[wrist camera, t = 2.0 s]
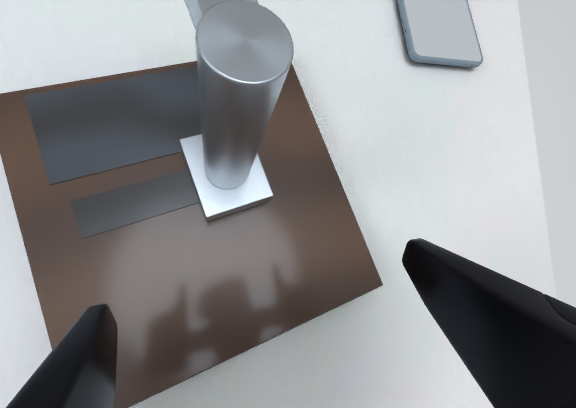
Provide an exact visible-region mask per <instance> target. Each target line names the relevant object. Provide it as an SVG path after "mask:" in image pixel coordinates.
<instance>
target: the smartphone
mask: <svg viewBox="0 0 576 408" xmlns="http://www.w3.org/2000/svg"><path fill="white" fill-rule="evenodd" d="M397 2H398V7H399V12H400V16H401V21H402V26H403V31H404V35H405V40H406V45H407V50H408V54H409V57H410V58H411V59H412V60H413V61H415V62H420V63H431V64H442V65H452V66H463V67H473V68H475V67H478V66H479V65H480V64H481V63H482V61H483V57H482V53H481V49H480V45H479V42H478V38H477V34H476V31H475V27H474V23H473V20H472V16H471V12H470V9H469V5H468V1H467V0H397Z"/></svg>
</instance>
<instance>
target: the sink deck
mask: <svg viewBox="0 0 576 408" xmlns="http://www.w3.org/2000/svg"><path fill="white" fill-rule="evenodd" d="M200 134H202V128H201V113H200V98H199V83H198V68H197V61H194V62H188V63H182V64H176V65H170V66H164V67H158V68H152V69H146V70H140V71H134V72H128V73H122V74H116V75H110V76H104V77H98V78H92V79H86V80H80V81H74V82H68V83H62V84H56V85H50V86H44V87H38V88H32V89H26V90H20V91H14V92H8V93H2V94H0V154H1V158H2V162H3V166H4V169H5V173H6V177H7V181H8V184H9V188H10V192H11V196H12V200H13V203H14V207H15V211H16V215H17V218H18V222H19V226H20V230H21V234H22V237H23V241H24V245H25V249H26V252H27V256H28V260H29V264H30V267H31V271H32V275H33V279H34V283H35V286H36V290H37V294H38V298H39V301H40V305H41V309H42V313H43V316H44V320H45V324H46V328H47V332H48V335H49V339H50V343H51V347H52V350H53V349H54V348H55V347H56V346H57V344H58V343H59V342H60V341H61V339H62V338H63V337H64V336H65V334H66V333H67V332H68V331H69V330H70V328H71V327H72V326H73V325H74V323H75V322H76V321H77V320H78V319H79V317H80V316H81V315H82V314H83V312H84V311H85V310H86V309H87V308H88V307H90V306H95V305H99V304H107V305H108V306H109V307H110V310H111V312H112V314H113V316H114V318H115V321H116V323H117V328H118V338H117V365H116V388H115V398H114V405H113V408H128V407H131V406H133V405H135V404H137V403H139V402H141V401H143V400H145V399H147V398H149V397H151V396H153V395H156V394H158V393H160V392H162V391H164V390H166V389H168V388H170V387H172V386H174V385H176V384H178V383H180V382H183V381H185V380H187V379H189V378H191V377H193V376H195V375H197V374H199V373H201V372H203V371H205V370H208V369H210V368H212V367H214V366H216V365H218V364H220V363H222V362H224V361H226V360H228V359H230V358H233V357H235V356H237V355H239V354H241V353H243V352H245V351H247V350H249V349H251V348H253V347H255V346H257V345H260V344H262V343H264V342H266V341H268V340H270V339H272V338H274V337H276V336H278V335H280V334H282V333H285V332H287V331H289V330H291V329H293V328H295V327H297V326H299V325H301V324H303V323H305V322H307V321H309V320H312V319H314V318H316V317H318V316H320V315H322V314H324V313H326V312H328V311H330V310H332V309H334V308H337V307H339V306H341V305H343V304H345V303H347V302H349V301H351V300H353V299H355V298H357V297H359V296H362V295H364V294H366V293H368V292H370V291H372V290H374V289H376V288H378V287H380V286H382V285H383V284H382V281H381V279H380V277H379V274H378V272H377V269H376V267H375V264H374V262H373V260H372V257H371V255H370V252H369V250H368V247H367V245H366V243H365V240H364V238H363V235H362V233H361V230H360V228H359V226H358V223H357V221H356V218H355V216H354V213H353V211H352V209H351V206H350V204H349V201H348V199H347V196H346V194H345V192H344V189H343V187H342V184H341V182H340V179H339V177H338V175H337V172H336V170H335V167H334V165H333V162H332V160H331V157H330V155H329V153H328V150H327V148H326V145H325V143H324V140H323V138H322V136H321V133H320V131H319V128H318V126H317V123H316V121H315V119H314V116H313V114H312V111H311V109H310V106H309V104H308V102H307V99H306V97H305V94H304V92H303V89H302V87H301V85H300V82H299V80H298V77H297V75H296V72H295V70H294V68H293V65H292V63H291V65H290V68H289V71H288V73H287V76H286V79H285V81H284V84H283V86H282V89H281V92H280V94H279V97H278V99H277V102H276V105H275V107H274V110H273V113H272V115H271V118H270V120H269V123H268V126H267V128H266V131H265V134H264V136H263V139H262V141H261V144H260V147H259V149H258V152H257V153H258V156H259V159H260V161H261V164H262V167H263V169H264V172H265V174H266V177H267V180H268V182H269V185H270V188H271V190H272V193H273V197H272V198H271V199H270V200H269V201H268V202H265V203H262V204H259V205H256V206H253V207H250V208H247V209H244V210H241V211H238V212H235V213H232V214H229V215H226V216H223V217H220V218H217V219H214V220H211V221H208V222H207V221H206V219H205V216H204V213H203V210H202V207H201V204H200V202H199V199H198V196H197V193H196V190H195V187H194V184H193V181H192V178H191V176H190V173H189V170H188V167H187V164H186V161H185V158H184V155H183V152H182V150H181V145H180V141H179V140H180V139H184V138H188V137H192V136H196V135H200Z"/></svg>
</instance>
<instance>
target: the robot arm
mask: <svg viewBox="0 0 576 408" xmlns="http://www.w3.org/2000/svg"><path fill="white" fill-rule="evenodd" d="M402 263H403V266H404V267H405V269H406V271H407V273H408V275H409V277H410V279H411V280H412V282H413V284H414V286H415V288H416V290H417V291H418V293H419V295H420V297H421V299H422V300H423V302H424V304H425V306H426V307H427V309H428V310H429V312H430V313H431V315H432V316H433V318H434V319H435V321H436V322H437V324H438V325H439V327H440V328H441V330H442V331H443V333H444V334H445V336H446V337H447V338H448V340H449V341H450V343H451V344H452V346H453V347H454V349H455V350H456V352H457V353H458V355H459V356H460V358H461V359H462V361H463V362H464V364H465V365H466V367H467V368H468V370H469V371H470V373H471V374H472V376H473V377H474V379H475V380H476V382H477V383H478V385H479V386H480V387H481V389H482V390H483V392H484V393H485V395H486V396H487V398H488V399H489V401H490V402H491V404H492V405H493V407H494V408H576V308H575V307H573V306H571V305H568V304H566V303H564V302H561V301H559V300H557V299H555V298H552V297H550V296H548V295H546V294H542V293H541V292H539V291H537V290H535V289H532V288H530V287H528V286H526V285H524V284H521V283H519V282H517V281H515V280H512V279H510V278H508V277H506V276H504V275H501V274H499V273H497V272H495V271H492V270H490V269H488V268H486V267H484V266H481V265H479V264H477V263H475V262H472V261H470V260H468V259H466V258H464V257H461V256H459V255H457V254H455V253H452V252H450V251H448V250H446V249H444V248H441V247H439V246H437V245H435V244H432V243H430V242H428V241H426V240H424V239H421V238H418V239H413V240H409V241H408V242H407V245H406V248H405V251H404V254H403V257H402ZM117 338H118V328H117V323H116V321H115V318H114V316H113V314H112V312H111V310H110V307H109V306H108V305H107V304H99V305H95V306H90V307H88V308H87V309H86V310H85V311H84V312H83V314H82V315H81V316H80V317H79V319H78V320H77V321H76V322H75V323H74V325H73V326H72V327H71V328H70V330H69V331H68V332H67V333H66V334H65V336H64V337H63V338H62V339H61V341H60V342H59V343H58V344H57V346H56V347H55V348H54V349H53V350H52V352H51V353H50V354H49V355H48V357H47V358H46V359H45V360H44V361H43V363H42V364H41V365H40V366H39V368H38V369H37V370H36V371H35V373H34V374H33V375H32V376H31V377H30V379H29V380H28V381H27V382H26V384H25V385H24V386H23V387H22V388H21V390H20V391H19V392H18V393H17V395H16V396H15V397H14V398H13V400H12V401H11V402H10V403H9V404H8V406H7V407H6V408H113V405H114V398H115V388H116V365H117Z"/></svg>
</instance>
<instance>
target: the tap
mask: <svg viewBox="0 0 576 408" xmlns="http://www.w3.org/2000/svg"><path fill="white" fill-rule="evenodd" d="M184 1H185V3H186V6H187V9H188V11H189V14H190V17H191V19H192V22H193V25H194V27H195V30H196V53H197V68H198V83H199V98H200V113H201V128H202V134H200V135H196V136H192V137H188V138H184V139H180V140H179V141H180V145H181V150H182V152H183V155H184V158H185V161H186V164H187V167H188V170H189V173H190V176H191V178H192V181H193V184H194V187H195V190H196V193H197V196H198V199H199V202H200V204H201V207H202V210H203V213H204V216H205V219H206V221H207V222H208V221H211V220H214V219H217V218H220V217H223V216H226V215H229V214H232V213H235V212H238V211H241V210H244V209H247V208H250V207H253V206H256V205H259V204H262V203H265V202H268V201H269V200H270V199H271V198H272V197H273V193H272V190H271V188H270V185H269V182H268V180H267V177H266V174H265V172H264V169H263V167H262V164H261V161H260V159H259V156H258V153H257V152H258V149H259V147H260V144H261V141H262V139H263V136H264V134H265V131H266V128H267V126H268V123H269V120H270V118H271V115H272V113H273V110H274V107H275V105H276V102H277V99H278V97H279V94H280V92H281V89H282V86H283V84H284V81H285V79H286V76H287V73H288V71H289V68H290V65H291V63H292V59H293V53H294V50H293V42H292V38H291V35H290V33H289V31H288V29H287V27H286V26H285V24H284V23H283V22H282V21H281V19H280V18H279V17H278V16H277V15H275V14H274V13H273V12H272V11H270V10H268V9H267V8H265V7H263V6H261V5H259V4H258V1H257V0H184Z"/></svg>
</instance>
